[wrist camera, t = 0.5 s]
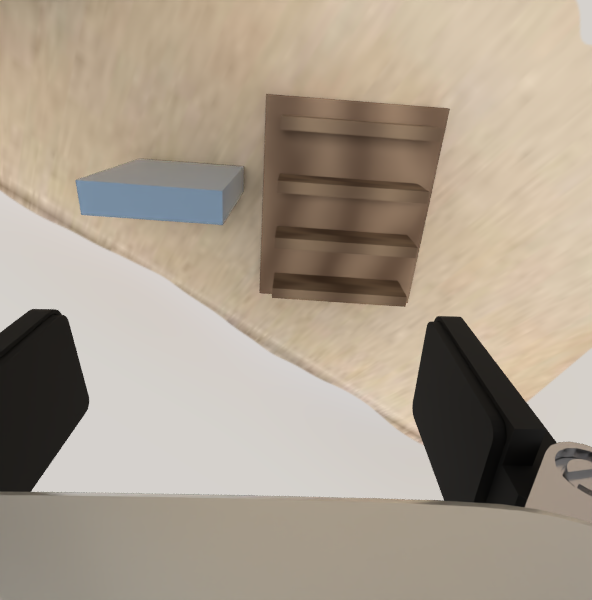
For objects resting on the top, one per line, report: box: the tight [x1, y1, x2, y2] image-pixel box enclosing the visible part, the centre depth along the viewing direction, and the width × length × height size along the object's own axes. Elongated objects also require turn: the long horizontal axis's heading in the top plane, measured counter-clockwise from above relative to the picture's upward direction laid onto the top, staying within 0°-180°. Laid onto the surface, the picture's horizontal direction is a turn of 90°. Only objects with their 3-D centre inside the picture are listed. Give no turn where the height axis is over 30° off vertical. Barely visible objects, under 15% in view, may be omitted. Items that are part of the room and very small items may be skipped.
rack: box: [260, 94, 450, 307], centre depth 38 cm, size 16×19×5 cm
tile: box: [76, 159, 244, 225], centre depth 33 cm, size 10×2×12 cm, turn 86°
